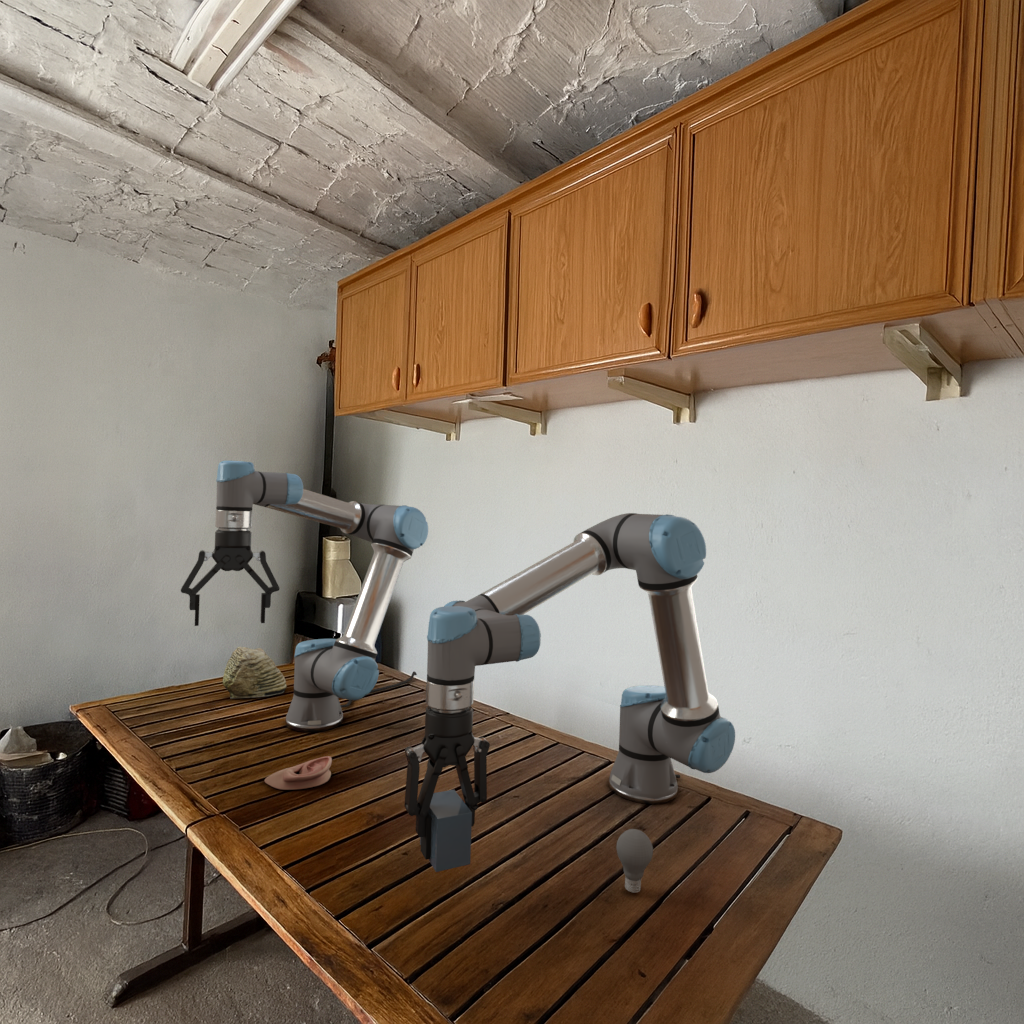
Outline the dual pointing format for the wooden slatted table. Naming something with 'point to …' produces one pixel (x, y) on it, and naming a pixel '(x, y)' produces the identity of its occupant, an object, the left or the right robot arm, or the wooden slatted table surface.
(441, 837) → the dark grey boxy piece
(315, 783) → the anatomical model
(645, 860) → the light bulb
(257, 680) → the fossil
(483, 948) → the wooden slatted table surface
